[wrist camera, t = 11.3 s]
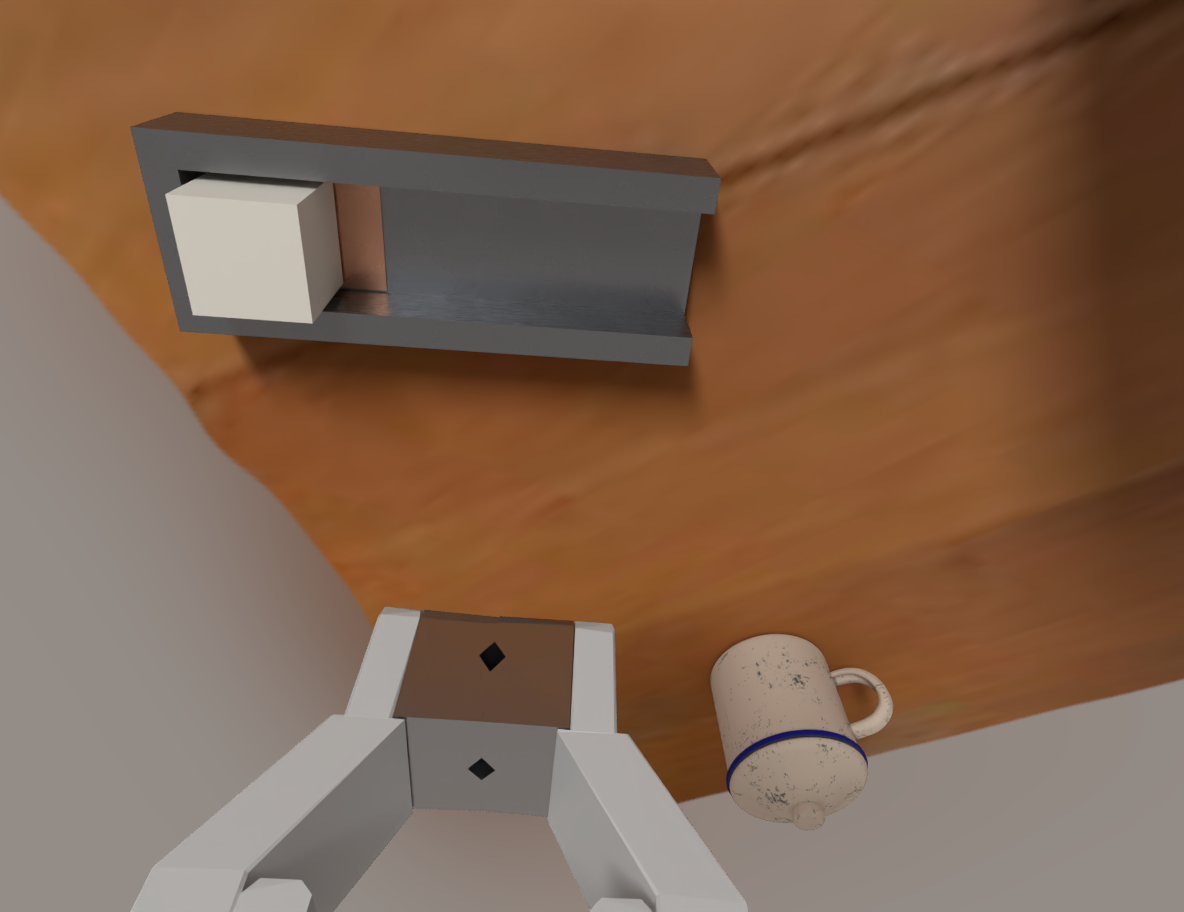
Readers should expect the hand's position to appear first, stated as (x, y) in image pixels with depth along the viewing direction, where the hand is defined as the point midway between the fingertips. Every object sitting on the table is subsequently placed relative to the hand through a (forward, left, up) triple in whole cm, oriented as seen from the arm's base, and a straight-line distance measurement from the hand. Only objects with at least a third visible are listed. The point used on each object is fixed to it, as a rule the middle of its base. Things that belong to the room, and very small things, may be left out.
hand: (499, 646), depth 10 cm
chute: (+5, +3, -29) cm, 30 cm away
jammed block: (+12, +3, -28) cm, 31 cm away
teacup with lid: (-19, +33, -29) cm, 48 cm away
